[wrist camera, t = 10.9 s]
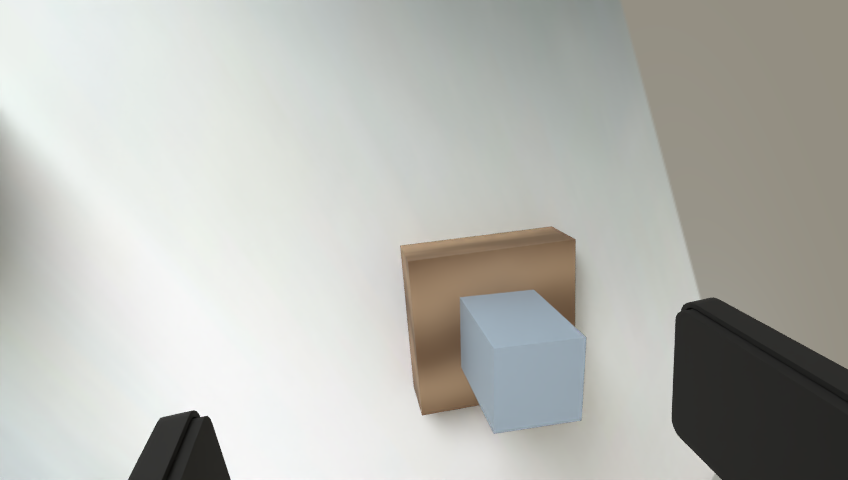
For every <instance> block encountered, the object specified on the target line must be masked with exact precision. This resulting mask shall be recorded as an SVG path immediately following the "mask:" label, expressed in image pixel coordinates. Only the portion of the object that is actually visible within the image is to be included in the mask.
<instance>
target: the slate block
mask: <svg viewBox="0 0 848 480" xmlns="http://www.w3.org/2000/svg"><path fill="white" fill-rule="evenodd" d="M460 334H461V368H462V370H463V372H464V374H465V376H466V378H467V380H468V382H469V384H470V386H471V388H472V390H473V392H474V394H475V396H476V398H477V400H478V403H479V405H480V407H481V409H482V411H483V413H484V415H485V417H486V419H487V421H488V423H489V425H490V427H491V429H492V431H493V433H494V434H495V433H502V432H508V431H515V430H522V429H528V428H535V427H541V426H548V425H554V424H561V423H568V422H574V421H581V420H582V404H583V387H584V369H585V352H586V337H585V336H584V335H583V334H582V333H581V332H580V331H579V330H578V329H577V328H575V327H574V326H573V325H572V324H571V323H570V322H569V321H568V320H567V319H566V318H565V317H563V316H562V315H561V314H560V313H559V312H558V311H557V310H556V309H555V308H554V307H552V306H551V305H550V304H549V303H548V302H547V301H546V300H545V299H544V298H543V297H542V296H540V295H539V294H538V293H537V292H536V291H535V290H525V291H515V292H506V293H496V294H487V295H477V296H467V297H460Z"/></svg>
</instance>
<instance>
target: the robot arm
mask: <svg viewBox="0 0 848 480" xmlns="http://www.w3.org/2000/svg"><path fill="white" fill-rule="evenodd" d="M672 423H673V427H674V429H675V431H676V433H677V434H678V436H679V437H680V438H681V439H682V440H683V441H684V442H685V443H686V444H687V445H688V446H689V447H690V448H691V449H692V450H693V451H694V452H695V453H696V454H697V455H698V456H699V457H700V458H701V459H702V460H703V461H704V462H705V463H706V464H707V465H708V466H709V467H710V468H711V469H712V470H713V471H714V472H715V473H716V474H717V475H718V476H719V477H720V478H721V479H722V480H848V369H846V368H844V367H842V366H840V365H839V364H837V363H835V362H833V361H831V360H829V359H828V358H826V357H824V356H822V355H820V354H818V353H816V352H815V351H813V350H811V349H809V348H807V347H806V346H804V345H802V344H800V343H798V342H796V341H794V340H792V339H791V338H789V337H787V336H785V335H783V334H782V333H780V332H778V331H776V330H774V329H773V328H771V327H769V326H767V325H765V324H763V323H762V322H760V321H758V320H756V319H754V318H752V317H750V316H749V315H747V314H745V313H743V312H741V311H739V310H738V309H736V308H734V307H732V306H730V305H728V304H727V303H725V302H723V301H721V300H719V299H717V298H707V299H703V300H698V301H693V302H689V303H686V304H685V305H683V307H682V309H681V312H679V313H678V314H677V316H676V323H675V348H674V373H673V397H672ZM128 480H231V479H230V476H229V473H228V470H227V467H226V464H225V461H224V458H223V455H222V452H221V449H220V446H219V443H218V440H217V437H216V433H215V430H214V427H213V424H212V422H211V419H210V418H209V417H208V416H204V417H200V415H199V414H198V412H197V411H194V410H193V411H189V412H184V413H180V414H175V415H171V416H166V417H162V418H160V419H159V421H158V422H157V424H156V426H155V428H154V430H153V432H152V434H151V436H150V438H149V439H148V441H147V443H146V445H145V447H144V449H143V451H142V453H141V455H140V457H139V459H138V461H137V463H136V465H135V467H134V469H133V471H132V473H131V475H130V477H129V479H128Z"/></svg>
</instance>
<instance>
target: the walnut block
mask: <svg viewBox="0 0 848 480" xmlns="http://www.w3.org/2000/svg"><path fill="white" fill-rule="evenodd" d="M400 248H401V258H402V268H403V279H404V289H405V300H406V310H407V321H408V331H409V342H410V352H411V362H412V373H413V383H414V389H415V393H416V396H417V399H418V403H419V406H420V410H421V413H422V415H427V414H433V413H438V412H444V411H449V410H455V409H461V408H466V407H472V406H477V405H479V403H478V400H477V398H476V396H475V394H474V392H473V390H472V388H471V386H470V384H469V382H468V380H467V378H466V376H465V374H464V372H463V370H462V368H461V334H460V297H467V296H477V295H487V294H496V293H506V292H515V291H525V290H535V291H536V292H537V293H538V294H539V295H540V296H542V297H543V298H544V299H545V300H546V301H547V302H548V303H549V304H550V305H551V306H552V307H554V308H555V309H556V310H557V311H558V312H559V313H560V314H561V315H562V316H563V317H565V318H566V319H567V320H568V321H569V322H570V323H571V324H572V325H573V326H574V327H575V239H574V238H572V237H570V236H568V235H566V234H565V233H563V232H561V231H559V230H557V229H555V228H554V227H544V228H536V229H529V230H521V231H513V232H505V233H497V234H489V235H481V236H473V237H465V238H457V239H449V240H442V241H434V242H426V243H418V244H410V245H402V246H400Z"/></svg>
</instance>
